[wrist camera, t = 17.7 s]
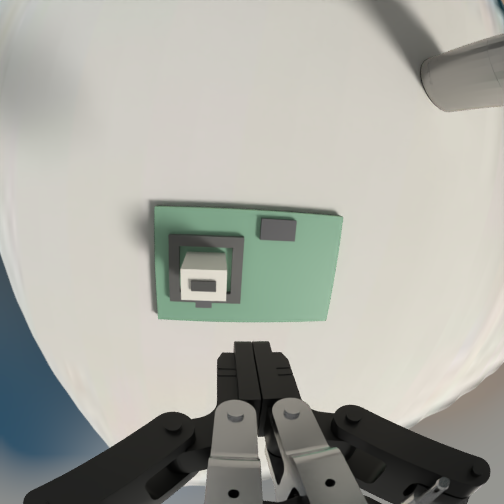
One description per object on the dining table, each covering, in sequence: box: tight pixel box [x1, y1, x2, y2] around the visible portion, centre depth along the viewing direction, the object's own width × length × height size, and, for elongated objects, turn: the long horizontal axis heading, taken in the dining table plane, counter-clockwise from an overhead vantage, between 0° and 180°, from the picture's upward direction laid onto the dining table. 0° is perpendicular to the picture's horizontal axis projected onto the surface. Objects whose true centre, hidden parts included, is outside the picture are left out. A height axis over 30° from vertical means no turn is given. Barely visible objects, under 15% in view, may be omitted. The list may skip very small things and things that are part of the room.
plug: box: [181, 252, 227, 308], centre depth 29 cm, size 4×4×6 cm
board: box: [154, 206, 343, 322], centre depth 33 cm, size 22×14×2 cm, turn 86°
